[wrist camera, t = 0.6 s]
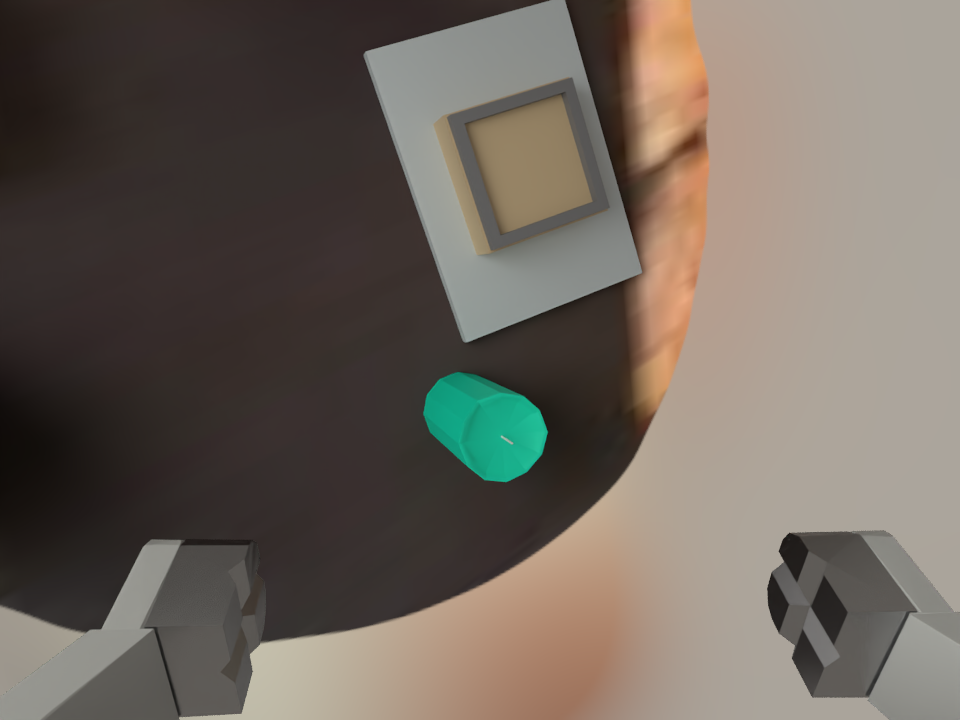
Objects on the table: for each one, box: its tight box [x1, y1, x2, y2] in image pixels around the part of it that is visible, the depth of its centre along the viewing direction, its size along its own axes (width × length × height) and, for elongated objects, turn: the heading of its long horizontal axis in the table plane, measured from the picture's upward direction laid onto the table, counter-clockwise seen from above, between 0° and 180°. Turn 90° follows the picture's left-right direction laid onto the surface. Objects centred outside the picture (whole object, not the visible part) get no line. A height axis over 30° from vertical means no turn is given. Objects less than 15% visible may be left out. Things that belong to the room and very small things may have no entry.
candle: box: [424, 372, 548, 482], centre depth 50 cm, size 6×6×12 cm
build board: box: [364, 0, 642, 343], centre depth 52 cm, size 22×16×5 cm
